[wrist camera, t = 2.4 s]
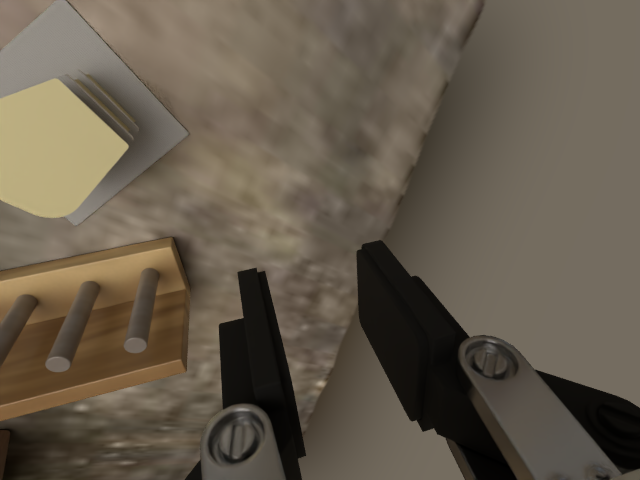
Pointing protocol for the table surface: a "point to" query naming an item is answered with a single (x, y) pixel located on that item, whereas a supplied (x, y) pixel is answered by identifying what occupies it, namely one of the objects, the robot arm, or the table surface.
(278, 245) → the table surface
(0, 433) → the wooden block
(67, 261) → the peg rack
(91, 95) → the stacked layers on plate
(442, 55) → the table surface
